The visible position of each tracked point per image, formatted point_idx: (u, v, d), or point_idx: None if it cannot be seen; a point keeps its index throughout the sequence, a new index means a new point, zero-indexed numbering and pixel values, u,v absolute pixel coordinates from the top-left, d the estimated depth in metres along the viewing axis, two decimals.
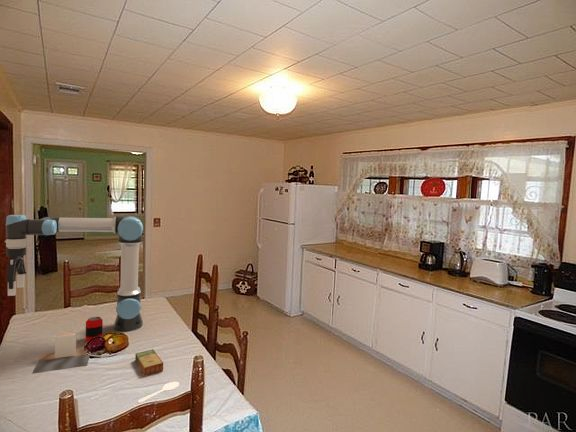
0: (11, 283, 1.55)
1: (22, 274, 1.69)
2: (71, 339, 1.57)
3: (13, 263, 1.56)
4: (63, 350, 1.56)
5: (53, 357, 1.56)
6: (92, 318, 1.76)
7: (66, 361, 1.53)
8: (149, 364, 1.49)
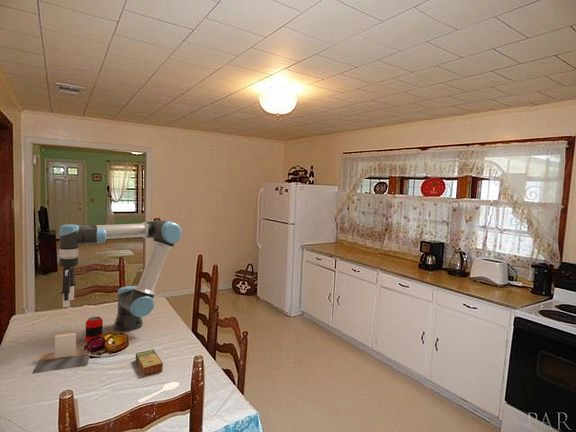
0: (66, 295, 1.56)
1: (72, 286, 1.67)
2: (71, 339, 1.57)
3: (68, 274, 1.56)
4: (63, 350, 1.56)
5: (53, 357, 1.56)
6: (92, 318, 1.76)
7: (66, 361, 1.53)
8: (148, 364, 1.49)
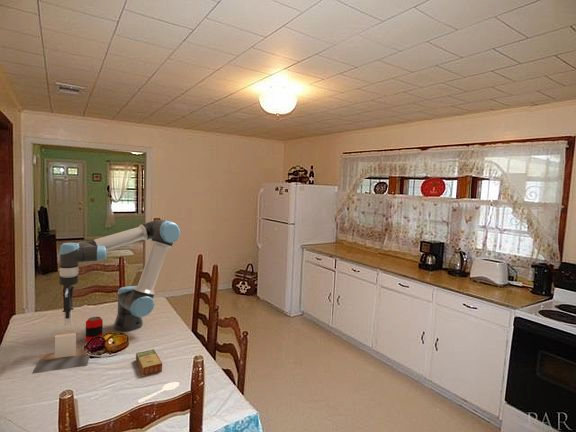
0: (68, 313, 1.61)
1: None
2: (71, 339, 1.57)
3: (68, 296, 1.57)
4: (63, 350, 1.56)
5: (53, 357, 1.56)
6: (92, 318, 1.76)
7: (66, 361, 1.53)
8: (148, 364, 1.49)
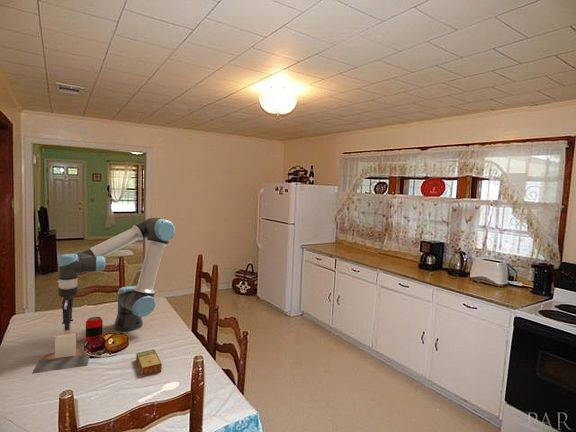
0: (67, 325, 1.60)
1: (69, 322, 1.62)
2: (71, 339, 1.57)
3: (67, 308, 1.56)
4: (63, 350, 1.56)
5: (53, 357, 1.56)
6: (92, 318, 1.76)
7: (66, 361, 1.53)
8: (147, 364, 1.49)
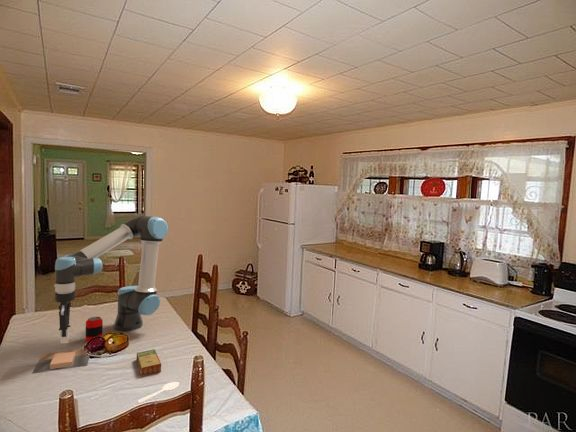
0: (64, 331, 1.53)
1: None
2: None
3: (64, 314, 1.49)
4: None
5: None
6: (92, 318, 1.76)
7: None
8: (146, 364, 1.49)
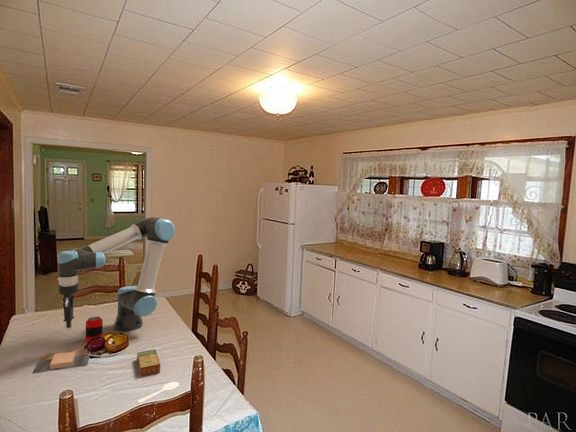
0: (69, 322, 1.59)
1: None
2: None
3: (68, 306, 1.55)
4: None
5: None
6: (92, 318, 1.76)
7: None
8: (146, 364, 1.48)
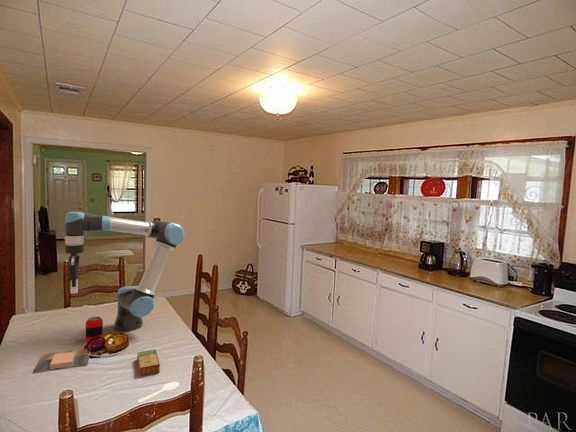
0: (74, 281, 1.62)
1: None
2: None
3: (74, 264, 1.58)
4: None
5: None
6: (92, 318, 1.76)
7: None
8: (145, 364, 1.48)
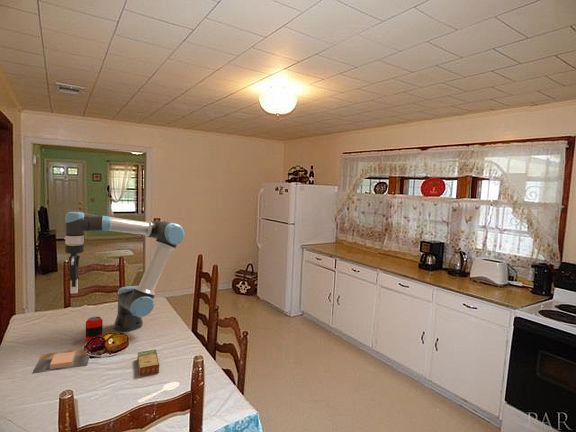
0: (74, 281, 1.62)
1: None
2: None
3: (74, 264, 1.58)
4: None
5: None
6: (92, 318, 1.76)
7: None
8: (145, 364, 1.48)
